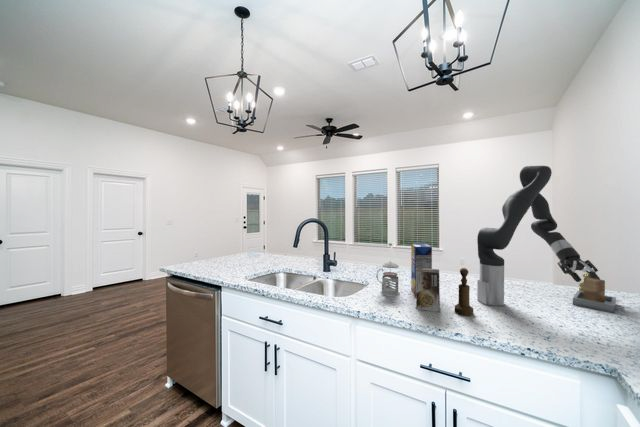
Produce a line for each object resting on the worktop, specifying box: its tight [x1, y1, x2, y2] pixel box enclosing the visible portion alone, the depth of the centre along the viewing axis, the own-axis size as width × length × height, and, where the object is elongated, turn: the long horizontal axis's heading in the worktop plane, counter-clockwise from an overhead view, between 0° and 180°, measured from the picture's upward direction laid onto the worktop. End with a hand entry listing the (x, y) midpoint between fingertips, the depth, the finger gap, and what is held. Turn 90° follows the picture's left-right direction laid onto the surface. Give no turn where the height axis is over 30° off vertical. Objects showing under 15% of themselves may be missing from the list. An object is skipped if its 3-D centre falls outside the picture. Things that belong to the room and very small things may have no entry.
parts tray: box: [572, 290, 617, 314], centre depth 115 cm, size 15×12×3 cm
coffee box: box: [415, 268, 441, 312], centre depth 111 cm, size 9×6×16 cm
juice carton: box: [410, 243, 433, 298], centre depth 130 cm, size 12×8×24 cm, turn 169°
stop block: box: [583, 277, 606, 303], centre depth 115 cm, size 4×4×10 cm
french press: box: [375, 242, 401, 297], centre depth 131 cm, size 10×12×25 cm
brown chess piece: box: [454, 267, 474, 317], centre depth 106 cm, size 7×6×18 cm
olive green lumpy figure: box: [578, 273, 591, 292], centre depth 129 cm, size 7×7×10 cm
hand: (588, 281), depth 117 cm, fingers open, 8 cm apart
